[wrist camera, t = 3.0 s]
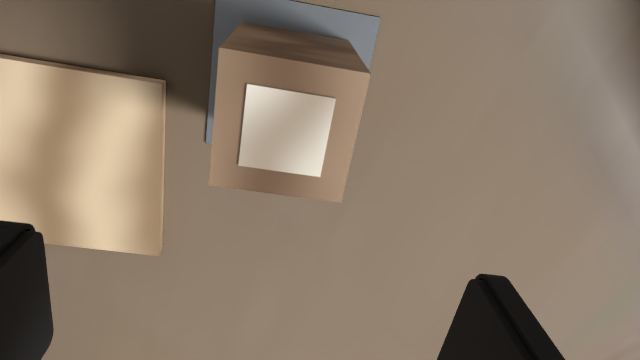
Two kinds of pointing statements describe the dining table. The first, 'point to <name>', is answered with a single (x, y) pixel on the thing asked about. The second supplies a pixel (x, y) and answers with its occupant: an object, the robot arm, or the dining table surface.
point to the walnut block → (286, 112)
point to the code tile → (278, 11)
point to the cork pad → (82, 154)
